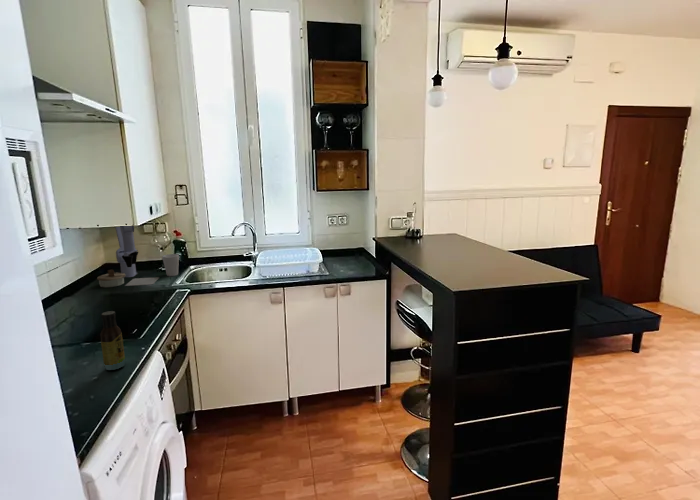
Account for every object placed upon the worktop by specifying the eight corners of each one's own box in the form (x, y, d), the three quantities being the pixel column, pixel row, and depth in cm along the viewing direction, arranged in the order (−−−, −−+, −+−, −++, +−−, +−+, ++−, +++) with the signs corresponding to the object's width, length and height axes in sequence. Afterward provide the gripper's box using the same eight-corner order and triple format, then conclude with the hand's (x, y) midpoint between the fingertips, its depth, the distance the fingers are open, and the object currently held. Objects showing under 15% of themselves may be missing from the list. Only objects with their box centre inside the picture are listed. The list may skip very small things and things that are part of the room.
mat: (133, 279, 236) (133, 278, 236) (159, 277, 239) (159, 277, 239) (124, 286, 222) (124, 285, 222) (152, 285, 225) (152, 284, 225)
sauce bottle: (124, 370, 130) (116, 315, 126) (103, 373, 128) (94, 317, 124) (127, 361, 136) (120, 308, 132) (107, 364, 134) (99, 311, 130)
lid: (103, 274, 230) (102, 267, 229) (128, 273, 233) (127, 266, 232) (93, 281, 216) (92, 274, 215) (120, 279, 219) (119, 272, 218)
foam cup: (174, 277, 239) (172, 257, 237) (161, 277, 241) (159, 256, 238) (183, 273, 248) (181, 254, 246) (170, 273, 250) (168, 253, 247)
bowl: (105, 282, 230) (104, 275, 229) (127, 281, 232) (126, 274, 231) (96, 288, 218) (95, 280, 217) (119, 287, 221) (118, 279, 220)
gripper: (132, 245, 221) (135, 268, 224) (140, 240, 235) (142, 262, 238) (118, 245, 220) (121, 268, 222) (127, 241, 233) (130, 262, 236)
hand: (131, 265), depth 230 cm, fingers open, 7 cm apart
